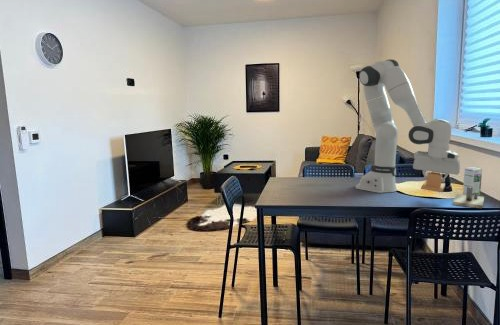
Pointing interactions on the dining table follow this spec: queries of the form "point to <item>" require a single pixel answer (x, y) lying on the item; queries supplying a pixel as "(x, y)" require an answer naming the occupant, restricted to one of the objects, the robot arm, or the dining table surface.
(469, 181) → the syrup box
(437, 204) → the dining table surface
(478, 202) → the post base
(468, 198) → the pins
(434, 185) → the flange plate
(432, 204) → the dining table surface
